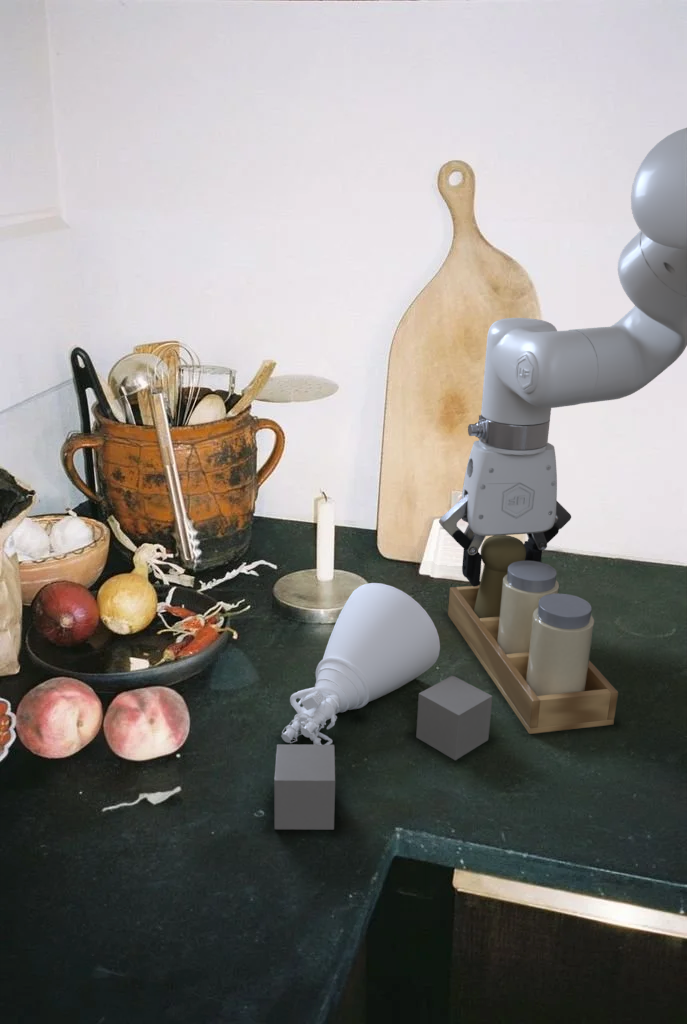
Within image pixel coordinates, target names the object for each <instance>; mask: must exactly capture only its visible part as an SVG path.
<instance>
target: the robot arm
mask: <svg viewBox="0 0 687 1024" xmlns="http://www.w3.org/2000/svg"><path fill="white" fill-rule="evenodd" d="M630 209H631V214H632V216H633V217H632V218H633V219H634V222H635V223H636V226H637V227H638V229H639V232H638V233H636V235H635V236H634V237H632V238H631V240H630V241H629V242H628V243H627V244H626V245H625V246H624V247H623V249H622V250H621V252H620V255H619V257H618V261H617V275H618V279H619V282H620V285H621V287H622V289H623V291H624V292H625V293H624V294H626V296H627V298H628V299H629V300H630V301H631V302H632V304H633V305H634V306H633V307H632V308H631V309H630V310H629V311H628V312H627V313H626V314H625V315H624V316H622V317H621V318H620V319H619V320H618V321H617V322H615V323H614V324H612V325H611V326H600V327H586V328H577V329H576V328H575V329H568V330H557V328H556V326H555V325H554V324H552V323H551V322H549V321H547V320H542V319H537V318H530V317H505V318H501V319H498V320H496V321H494V322H493V323H492V324H491V325H490V327H489V328H488V331H487V336H486V337H487V338H486V349H485V359H484V360H485V361H484V370H483V371H484V372H483V385H482V397H481V413H480V415H478V421H477V422H475V423H469V424H468V425H467V434H468V436H469V437H475V438H477V439H478V440H475V441H473V443H472V447H471V449H470V453H469V456H468V461H467V463H466V468H465V474H464V479H463V486H462V492H461V498H460V500H458V502H456V503H455V504H453V506H452V507H451V508H450V509H449V510H448V511H447V512H445V513H444V514H443V515H442V516H441V517H440V518H439V520H438V523H439V525H440V526H441V527H442V528H443V529H444V530H445V531H446V533H447V534H448V535H449V536H450V537H452V539H453V540H454V541H455V542H456V543H457V544H458V545H459V546H460V547H461V548H463V553H462V554H463V555H462V565H461V572H462V574H463V576H464V578H466V580H467V581H468V583H470V586H478V585H480V582H481V574H482V573H481V572H482V562H483V561H482V556H481V552H479V551H480V550H479V549H481V547H482V545H483V543H484V541H485V539H486V537H491V536H497V535H508V536H512V535H513V536H515V535H527V540H525V541H524V542H523V544H524V546H525V548H526V558H525V561H537V562H542V555H543V551H545V550H546V549H547V548H548V544H549V542H551V541H552V540H553V539H554V538H555V537H556V536H557V535H558V534H559V532H560V531H559V530H562V528H564V527H565V526H566V525H567V524H568V523H569V522H570V521H571V519H572V515H571V513H570V512H569V511H568V510H567V509H565V507H564V506H563V505H562V504H561V503H560V502H559V501H558V500H557V499H558V498H557V497H558V475H557V458H556V457H557V456H556V449H555V446H554V445H553V444H551V443H549V434H550V423H551V413H552V409H556V408H562V407H571V406H577V405H582V404H590V403H597V402H605V401H606V402H607V401H615V400H619V399H622V398H626V397H629V396H631V395H633V394H635V393H636V392H638V391H640V390H641V389H643V388H644V387H646V386H648V384H650V383H651V382H652V381H654V380H655V379H656V378H657V377H658V376H660V375H661V374H662V373H663V372H665V370H666V369H668V368H669V367H670V366H672V365H673V363H675V362H676V361H677V360H678V359H679V358H680V356H682V354H683V353H684V352H685V350H686V348H687V127H685V128H682V129H678V130H676V131H674V132H672V133H670V134H668V135H667V136H665V137H664V138H663V139H662V140H660V141H659V142H657V143H656V144H655V145H654V146H653V147H652V149H650V151H648V153H647V154H646V156H644V159H643V160H642V161H641V163H640V165H639V167H638V169H637V171H636V173H635V175H634V179H633V182H632V186H631V193H630ZM461 520H462V521H463V522H465V523H467V526H466V529H465V530H464V532H463V530H461V529H460V528H459V526H457V525H458V523H459V521H461Z"/></svg>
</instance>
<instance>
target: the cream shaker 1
mask: <svg viewBox="0 0 687 1024" xmlns="http://www.w3.org/2000/svg"><path fill="white" fill-rule="evenodd" d="M559 591H560V584H559V582H558V580H557V569H555V568H554V567H553V566H551V565H550V564H547V563H545V562H542V561H541V562H537V561H517V562H514V563H512V564H510V565H509V566H508V570H507V575H505V576H504V578H503V584H502V594H501V605H500V616H499V626H498V637H497V643H498V644H499V646H500V647H501V648H502V650H503V651H504V653H505V654H515V653H526V652H529V647H530V638H531V629H532V620H533V612H534V611H535V609H537V608H538V602H539V600H540V598H542V597H543V596H545V595H549V594H557V593H558V594H559Z"/></svg>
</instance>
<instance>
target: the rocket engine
mask: <svg viewBox="0 0 687 1024" xmlns="http://www.w3.org/2000/svg"><path fill="white" fill-rule="evenodd" d="M440 650H441V643H440V637H439V633H438V630H437V627H436V625H435V623H434V622H433V619H432V618H431V616H430V615H429V613H428V612H427V611H426V610H425V608H423V607H422V605H421V604H420V603H419V602H418V601H416V600H415V599H414V598H413V597H412V596H411V595H409V594H407V593H406V592H405V591H403V590H401V589H399V588H397V587H395V586H392V585H389V584H385V583H381V582H379V583H378V582H369V583H365V584H362V585H359V586H358V587H356V588H355V589H354V590H353V591H352V592H351V594H350V595H349V597H348V598H347V600H346V601H345V604H344V605H343V607H342V609H341V611H340V612H339V615H338V617H337V619H336V620H335V624H334V627H333V628H332V631H331V634H330V636H329V639H328V641H327V645H326V647H325V650H324V653H323V657H322V659H321V660H320V661H319V662H318V664H317V665H316V669H315V684H314V686H313V687H309V688H305V689H301V690H298V691H297V692H293V693H292V694H291V695H290V697H289V703H290V705H291V707H292V708H293V709H294V710H295V711H296V714H295V715H294V717H293V719H292V720H291V721H290V723H289V724H287V725H286V726H285V727H284V728H283V730H282V731H281V735H280V737H281V739H282V740H283V741H284V742H285V743H287V744H293V743H296V742H298V737H299V736H302V735H303V736H304V737H305V738H309V740H310V741H311V742H312V743H313V744H312V745H332V744H333V739H332V738H331V737H329V736H328V735H327V734H324V733H323V732H320V731H321V730H322V729H324V728H325V726H326V725H327V723H326V722H327V721H328V720H330V722H329V724H328V725H327V726H326V730H330V729H332V728H333V727H335V724H336V721H337V719H338V716H337V714H338V713H344V712H347V711H348V710H349V711H351V710H357V709H358V710H359V709H362V708H364V707H365V706H367V705H368V703H369V702H372V701H374V700H377V699H379V698H381V697H384V696H386V695H388V694H390V693H392V692H394V691H395V690H398V689H400V688H402V687H403V686H405V685H407V684H408V683H410V682H412V681H414V680H415V679H417V678H418V677H420V676H421V675H423V674H424V673H426V672H427V671H428V670H429V669H431V668H432V667H433V666H434V665H435V664H436V663H437V660H438V658H439V657H440ZM297 699H298V700H299V701H298V702H297ZM301 705H302V706H301ZM285 730H286V731H285ZM293 740H294V741H293ZM322 740H325V741H327V742H326V743H324V744H322V742H321V741H322Z"/></svg>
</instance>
